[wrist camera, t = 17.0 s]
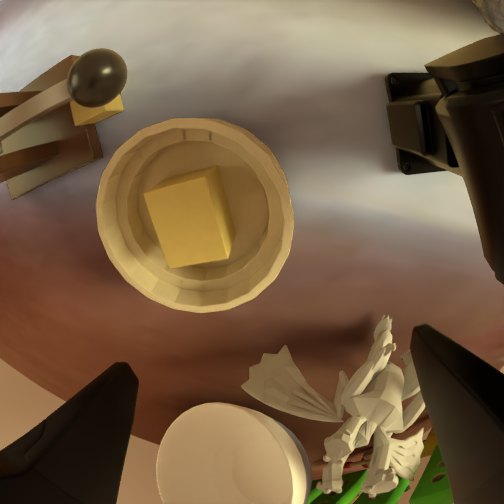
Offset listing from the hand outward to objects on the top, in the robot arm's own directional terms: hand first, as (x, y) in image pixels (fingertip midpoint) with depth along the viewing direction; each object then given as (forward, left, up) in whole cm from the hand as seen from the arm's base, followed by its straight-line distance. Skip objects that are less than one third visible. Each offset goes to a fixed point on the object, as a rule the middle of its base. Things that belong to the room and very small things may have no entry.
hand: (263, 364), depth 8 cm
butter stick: (+9, -11, -12) cm, 18 cm away
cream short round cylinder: (+5, +27, -8) cm, 29 cm away
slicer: (+15, -11, -12) cm, 22 cm away
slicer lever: (+11, -11, -8) cm, 17 cm away
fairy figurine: (-5, +12, -12) cm, 18 cm away
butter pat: (+4, -2, -11) cm, 12 cm away
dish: (+4, -2, -12) cm, 13 cm away
